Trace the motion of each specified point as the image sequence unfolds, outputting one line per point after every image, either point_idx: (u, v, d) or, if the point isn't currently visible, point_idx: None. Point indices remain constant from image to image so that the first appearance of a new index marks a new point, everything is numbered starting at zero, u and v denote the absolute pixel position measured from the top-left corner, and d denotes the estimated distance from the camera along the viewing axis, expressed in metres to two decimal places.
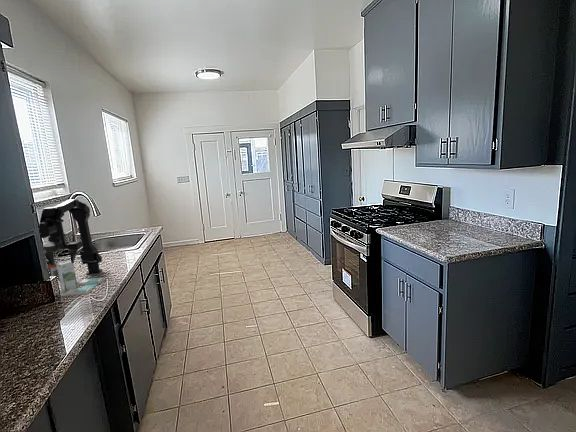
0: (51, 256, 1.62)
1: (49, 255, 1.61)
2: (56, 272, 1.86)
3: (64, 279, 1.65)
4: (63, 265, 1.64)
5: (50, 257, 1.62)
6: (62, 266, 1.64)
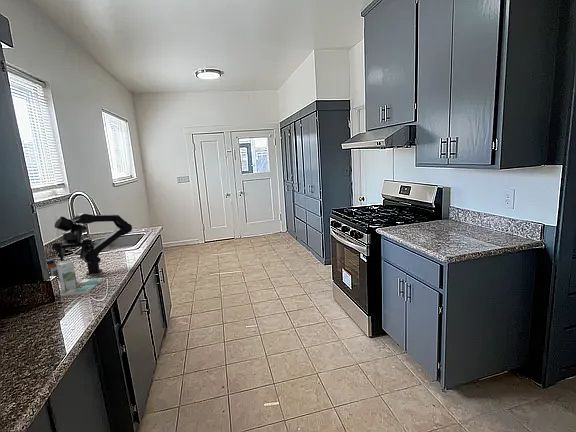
0: (62, 254, 1.76)
1: (62, 251, 1.76)
2: (56, 272, 1.86)
3: (64, 279, 1.65)
4: (63, 265, 1.64)
5: (62, 253, 1.75)
6: (62, 266, 1.64)
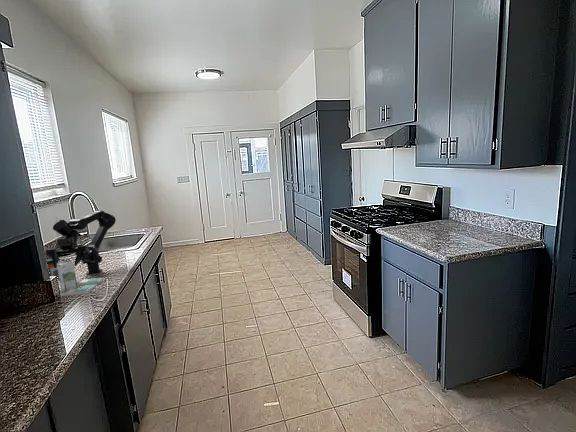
0: (56, 261, 1.69)
1: (55, 258, 1.69)
2: (56, 272, 1.86)
3: (64, 279, 1.65)
4: (63, 265, 1.64)
5: (55, 260, 1.69)
6: (62, 266, 1.64)
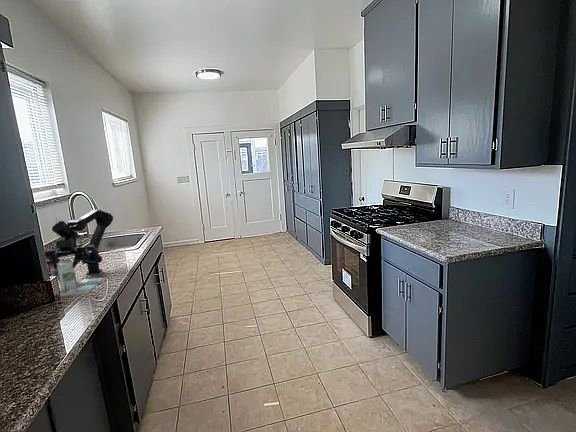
0: (57, 262, 1.68)
1: (56, 259, 1.68)
2: (56, 272, 1.86)
3: (64, 279, 1.65)
4: (63, 265, 1.64)
5: (56, 262, 1.67)
6: (62, 266, 1.64)
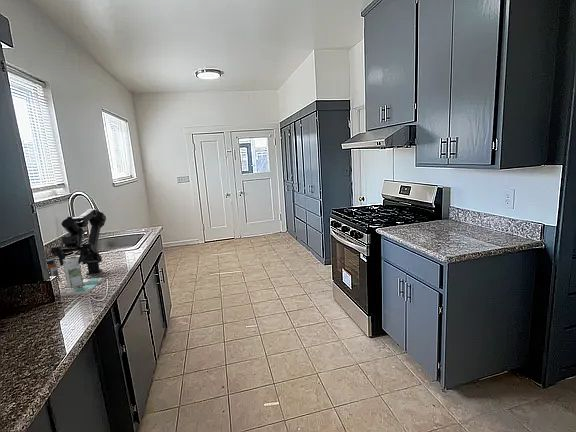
0: (63, 258, 1.68)
1: (62, 256, 1.68)
2: (56, 272, 1.86)
3: (70, 276, 1.65)
4: (69, 261, 1.64)
5: (62, 258, 1.67)
6: (68, 262, 1.64)
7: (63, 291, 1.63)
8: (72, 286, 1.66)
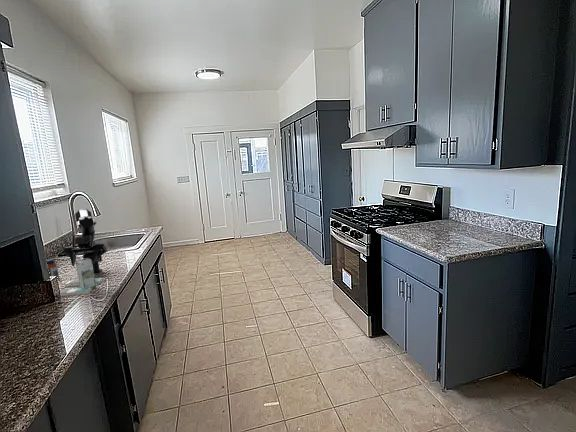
0: (74, 259, 1.69)
1: (73, 256, 1.68)
2: (56, 272, 1.86)
3: (83, 277, 1.66)
4: (82, 263, 1.65)
5: (73, 258, 1.68)
6: (81, 264, 1.65)
7: (63, 291, 1.63)
8: (85, 287, 1.67)
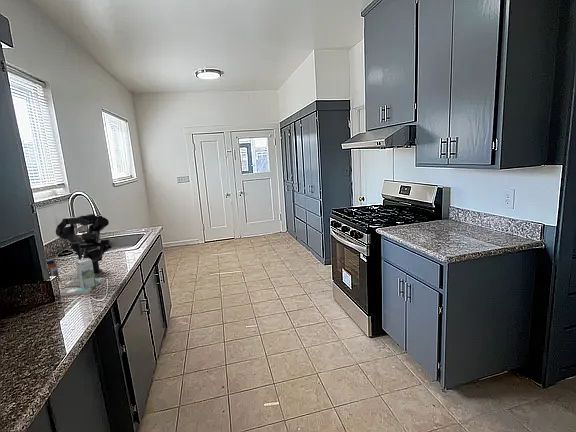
0: (81, 254, 1.77)
1: (80, 251, 1.77)
2: (56, 272, 1.86)
3: (83, 277, 1.66)
4: (82, 263, 1.65)
5: (80, 253, 1.77)
6: (81, 264, 1.65)
7: (63, 291, 1.63)
8: (85, 287, 1.67)
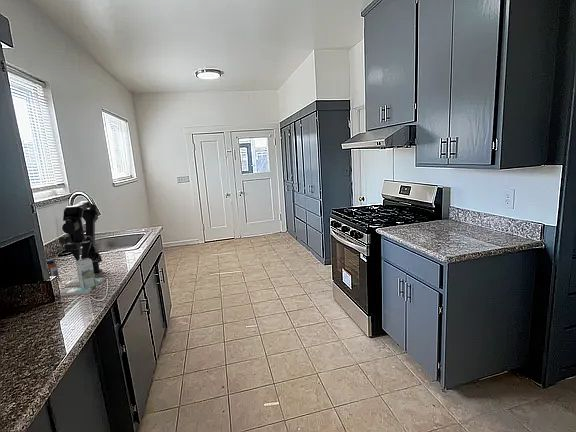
0: (86, 248, 1.81)
1: (83, 246, 1.81)
2: (56, 272, 1.86)
3: (83, 277, 1.66)
4: (82, 263, 1.65)
5: (84, 248, 1.81)
6: (81, 264, 1.65)
7: (63, 291, 1.63)
8: (85, 287, 1.67)
